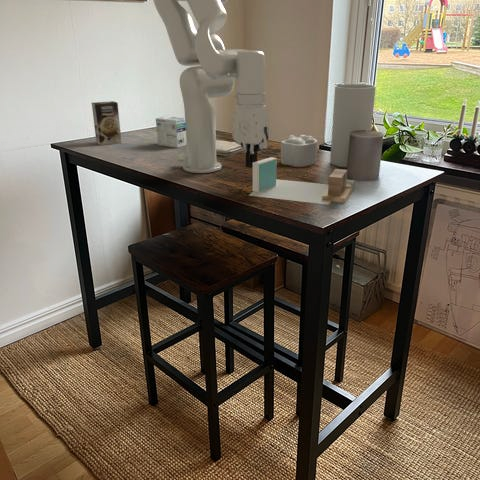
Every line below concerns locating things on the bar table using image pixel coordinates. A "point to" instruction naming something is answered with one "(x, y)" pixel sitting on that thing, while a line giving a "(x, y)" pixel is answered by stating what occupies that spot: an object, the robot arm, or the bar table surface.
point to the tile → (264, 174)
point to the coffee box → (106, 122)
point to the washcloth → (227, 148)
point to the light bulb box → (171, 131)
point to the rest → (338, 198)
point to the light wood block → (338, 182)
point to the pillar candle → (364, 155)
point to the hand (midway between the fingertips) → (251, 166)
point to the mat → (295, 191)
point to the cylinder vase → (350, 117)
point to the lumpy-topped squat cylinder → (299, 151)
